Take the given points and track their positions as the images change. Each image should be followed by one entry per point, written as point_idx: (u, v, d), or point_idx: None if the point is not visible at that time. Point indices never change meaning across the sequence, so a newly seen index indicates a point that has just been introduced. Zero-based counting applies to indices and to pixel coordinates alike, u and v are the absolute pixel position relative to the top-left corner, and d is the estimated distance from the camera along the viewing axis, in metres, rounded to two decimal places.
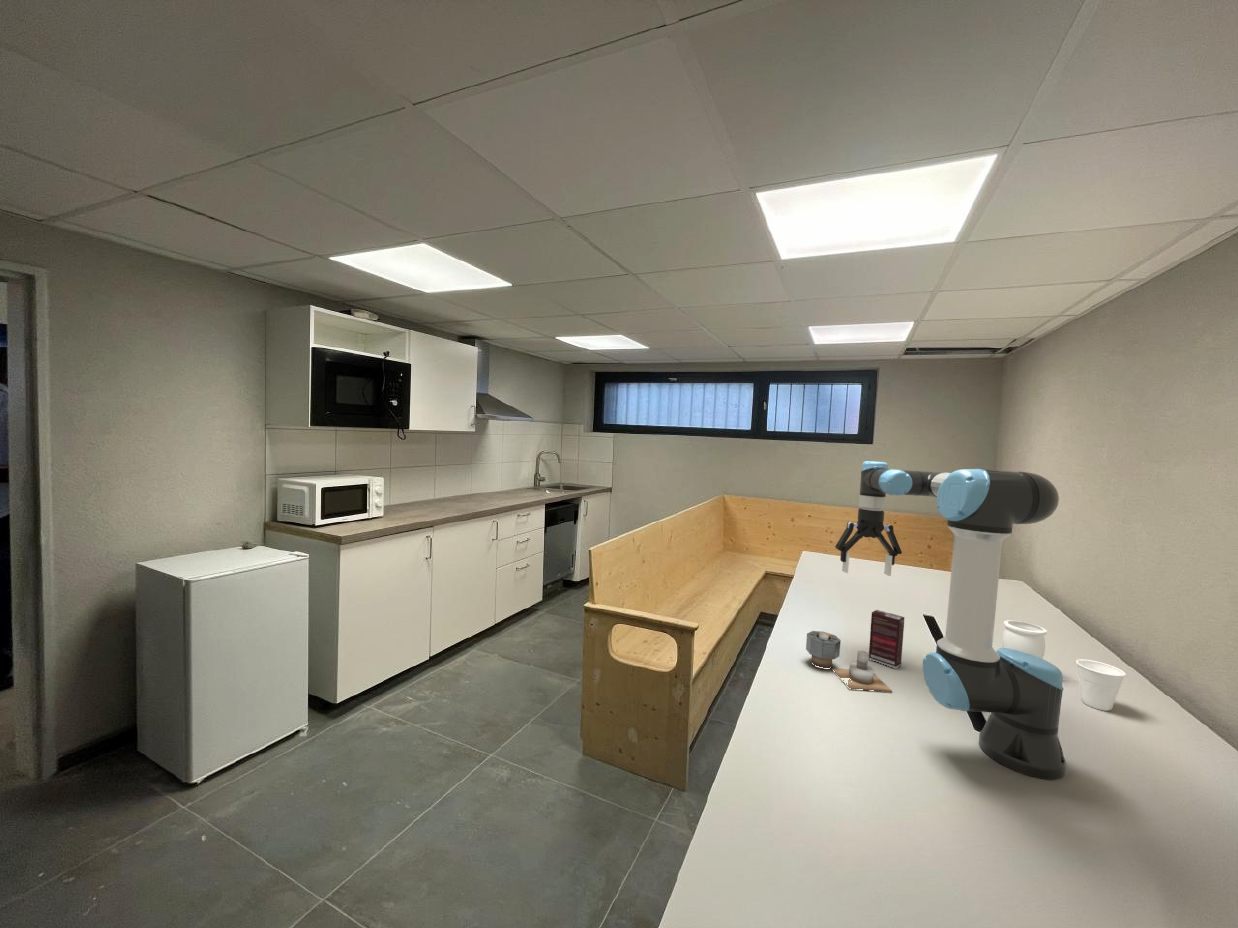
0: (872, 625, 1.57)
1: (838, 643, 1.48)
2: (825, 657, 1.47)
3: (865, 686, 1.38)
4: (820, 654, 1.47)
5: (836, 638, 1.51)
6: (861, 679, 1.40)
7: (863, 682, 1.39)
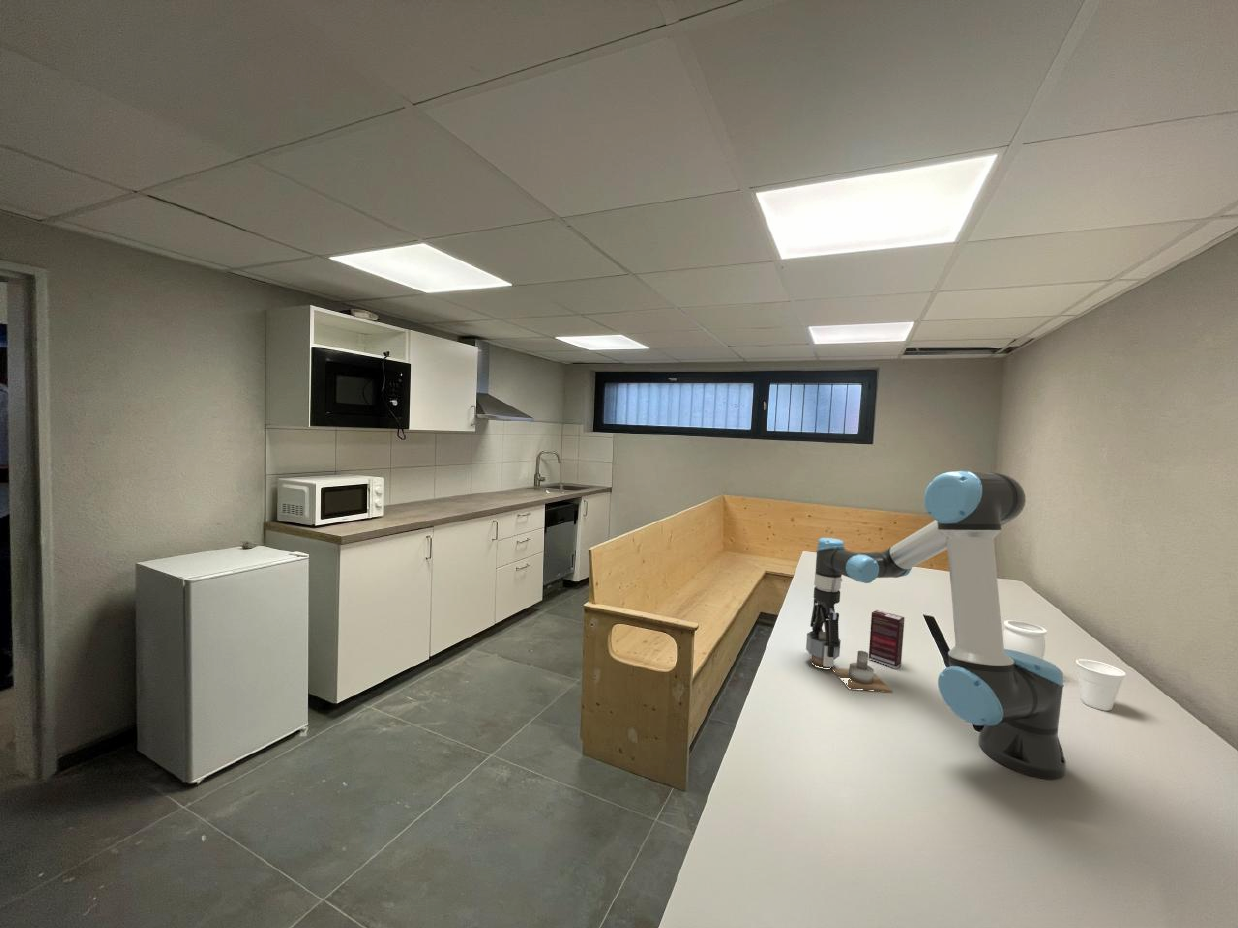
0: (872, 625, 1.57)
1: None
2: None
3: (865, 686, 1.38)
4: (820, 654, 1.47)
5: None
6: (861, 679, 1.40)
7: (863, 682, 1.39)
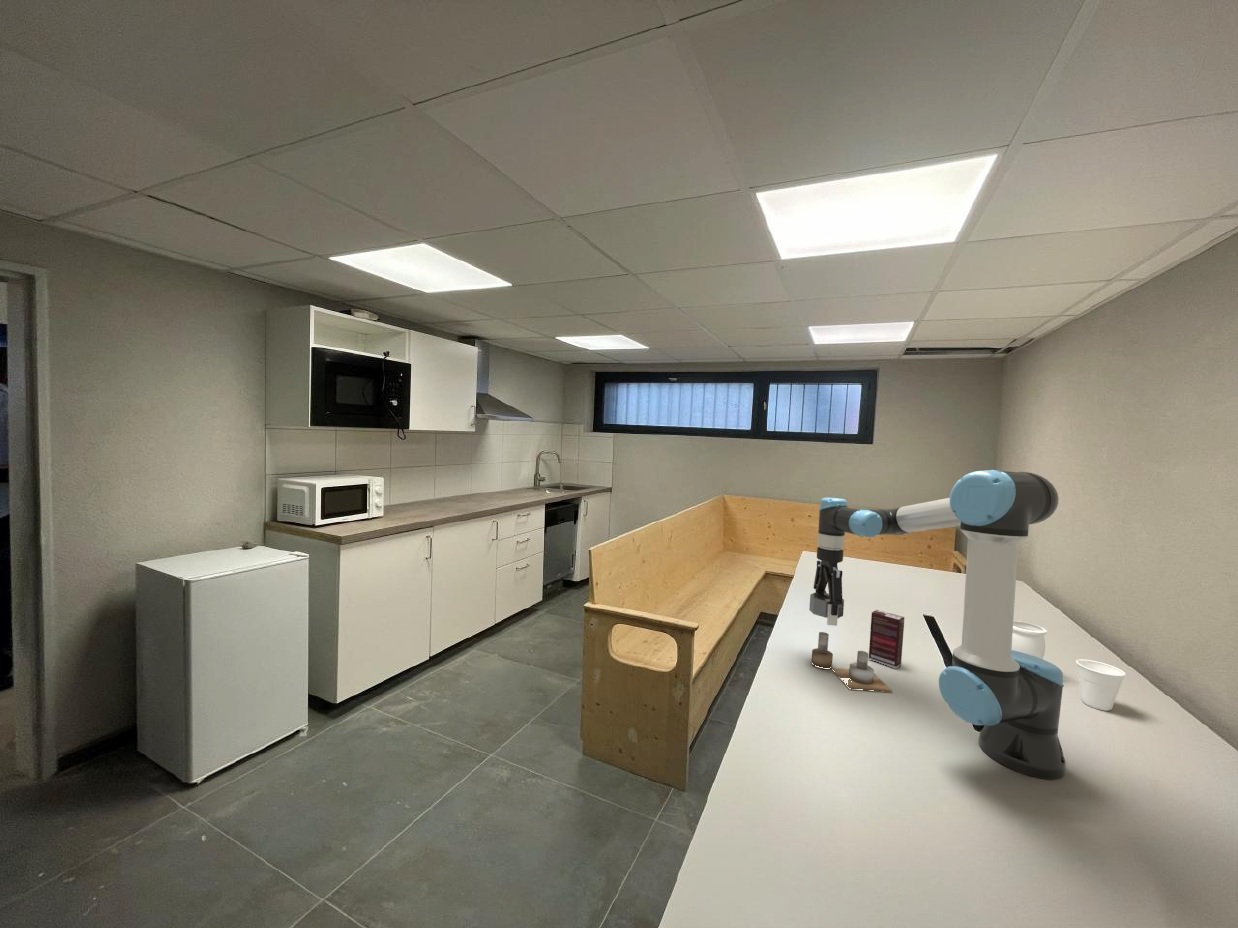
0: (872, 625, 1.57)
1: None
2: None
3: (865, 686, 1.38)
4: (824, 613, 1.47)
5: None
6: (861, 679, 1.40)
7: (863, 682, 1.39)
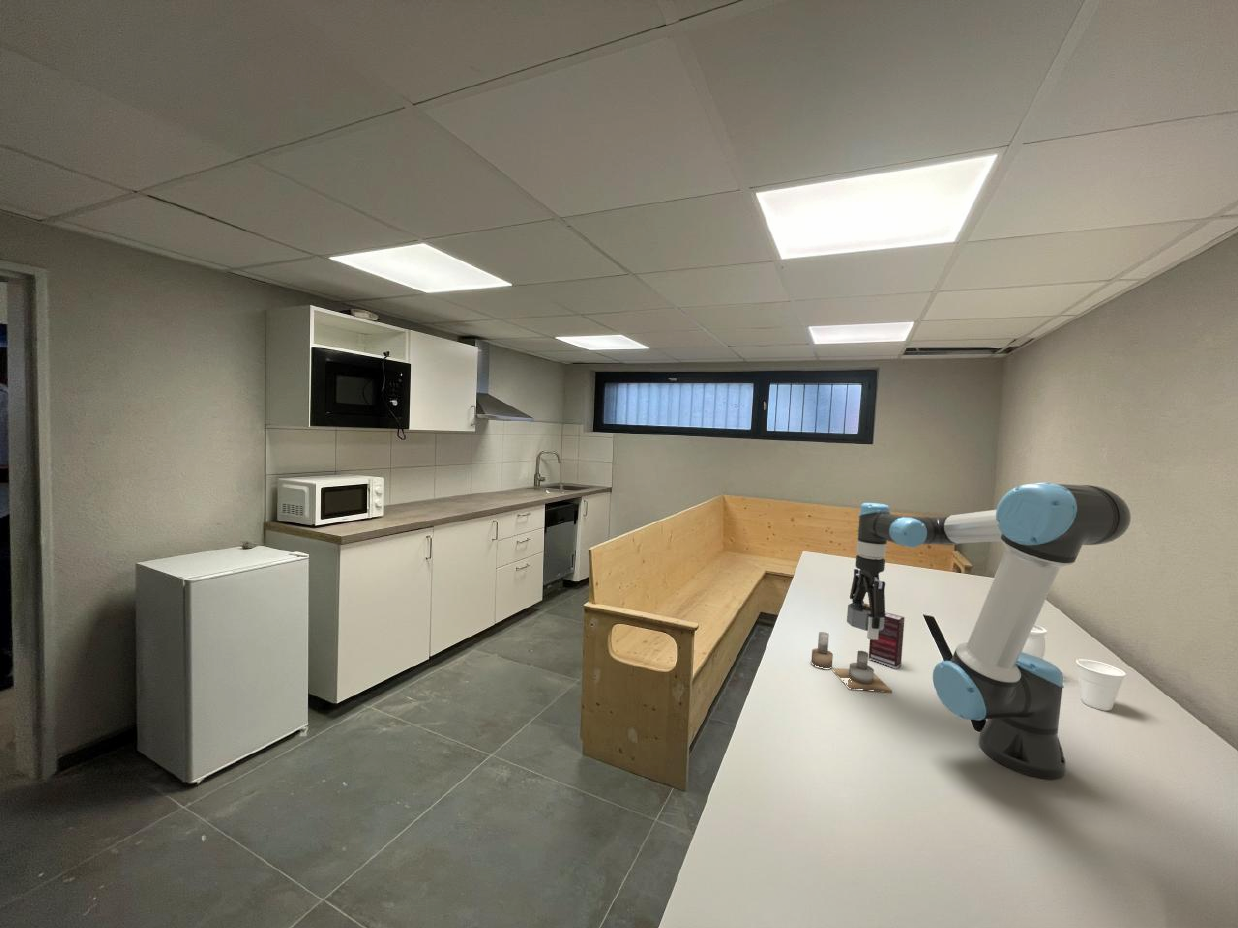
0: None
1: None
2: None
3: (865, 686, 1.38)
4: (864, 626, 1.38)
5: None
6: (861, 679, 1.40)
7: (863, 682, 1.39)
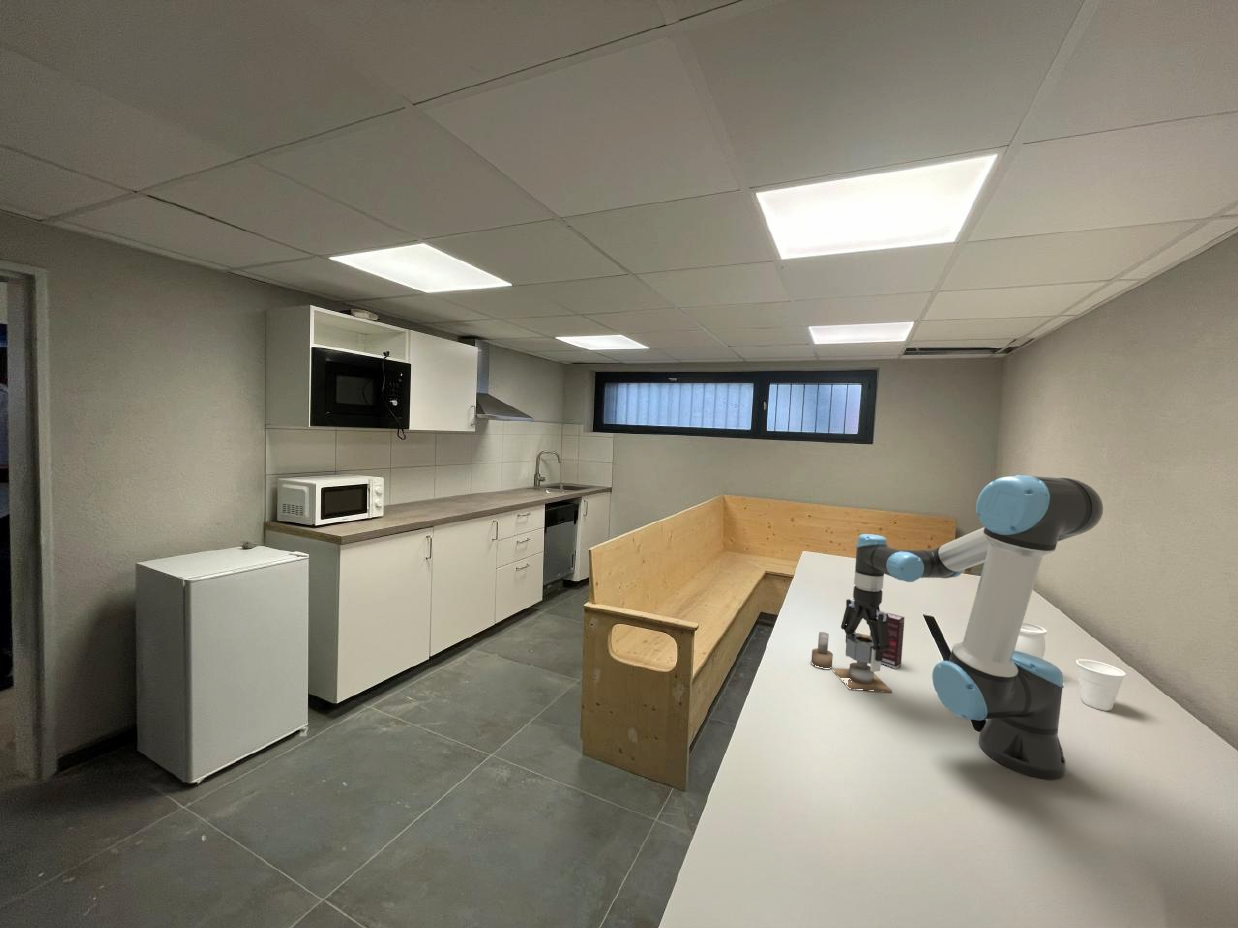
0: None
1: None
2: None
3: (865, 686, 1.38)
4: (867, 659, 1.37)
5: None
6: (861, 679, 1.40)
7: (863, 682, 1.39)
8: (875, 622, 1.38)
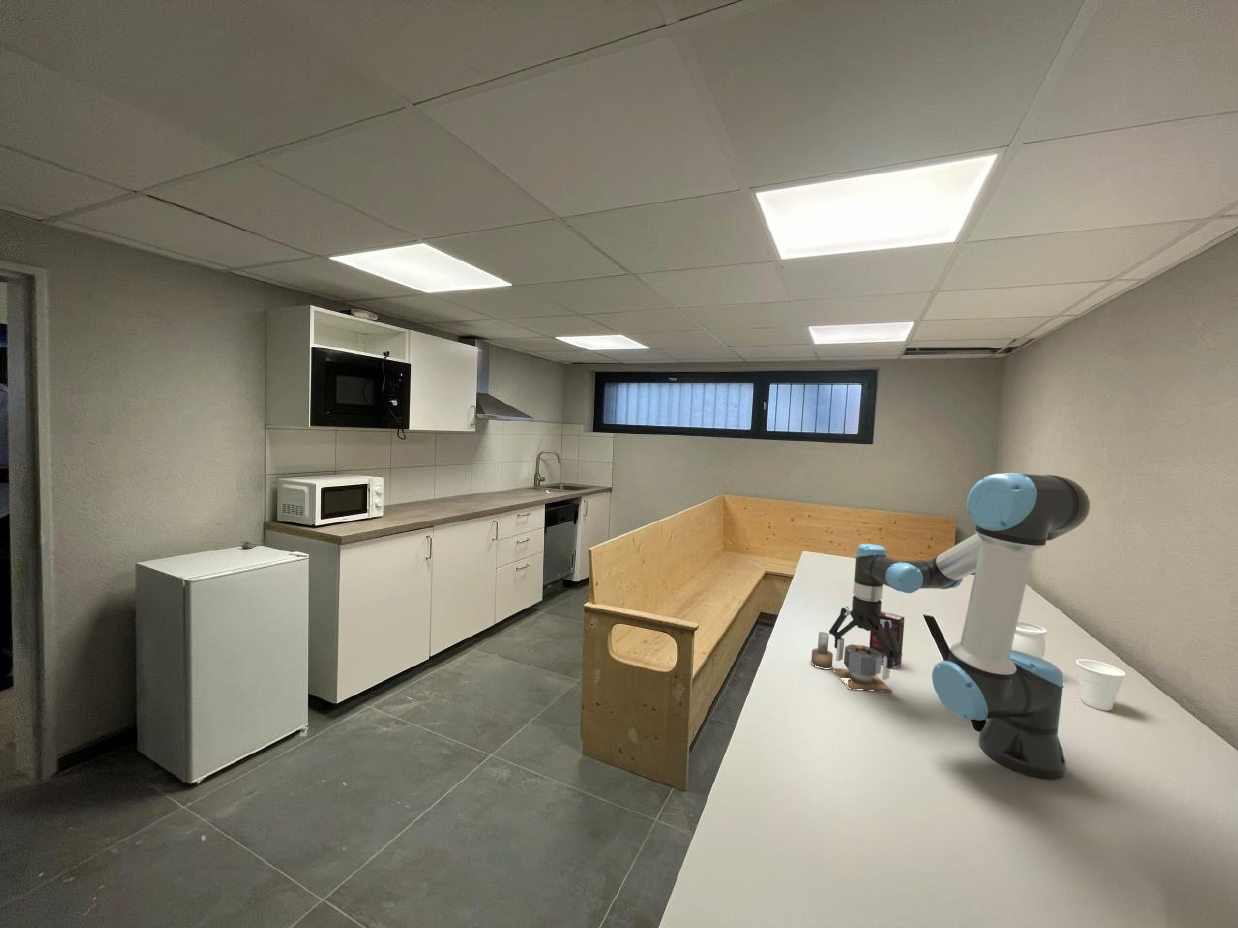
0: None
1: None
2: (876, 673, 1.38)
3: (865, 686, 1.38)
4: (873, 671, 1.38)
5: (871, 649, 1.44)
6: (861, 679, 1.40)
7: (863, 682, 1.39)
8: (879, 630, 1.39)
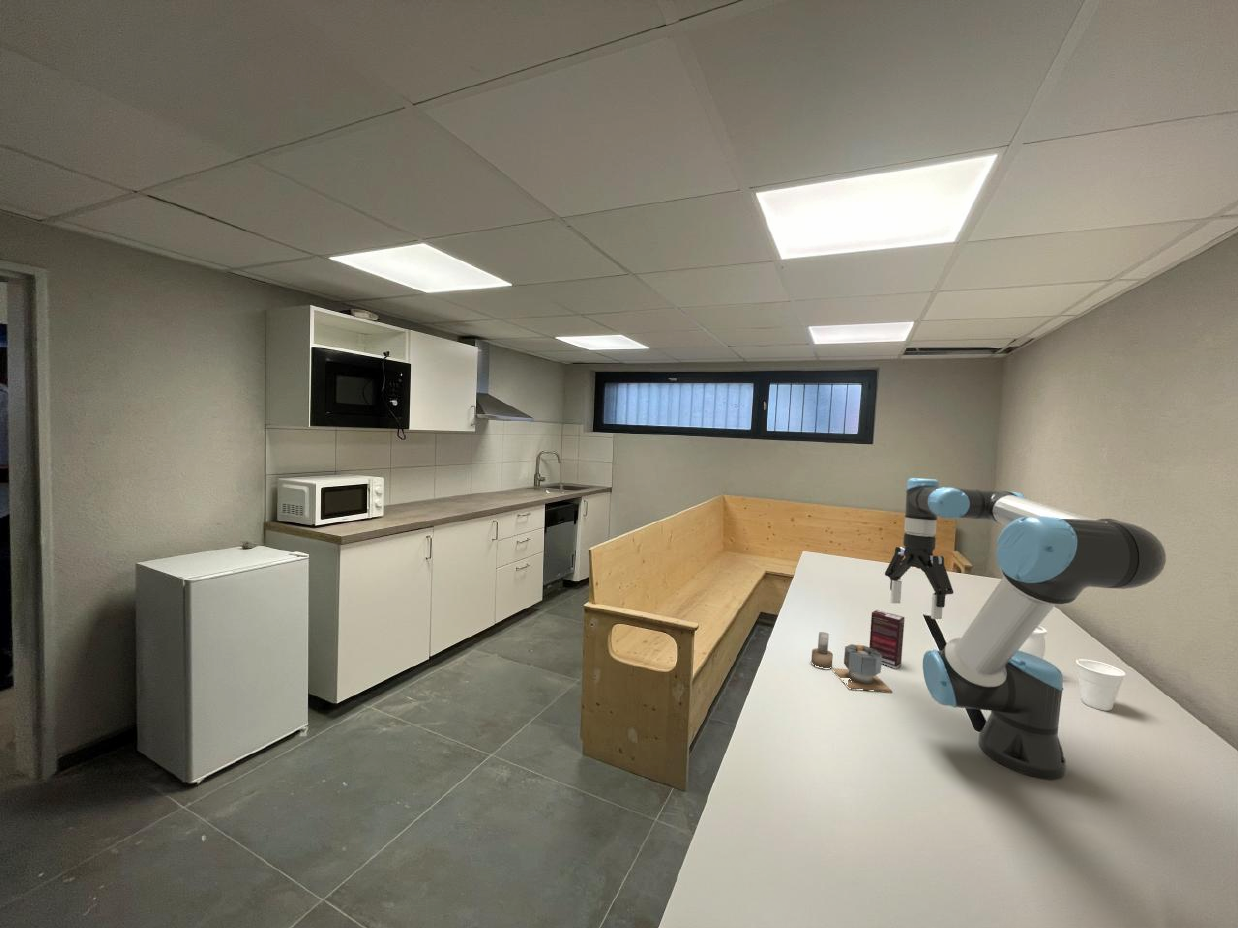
0: (872, 625, 1.57)
1: None
2: (876, 673, 1.38)
3: (865, 686, 1.38)
4: (873, 671, 1.38)
5: (871, 649, 1.44)
6: (861, 679, 1.40)
7: (863, 682, 1.39)
8: (930, 568, 1.30)
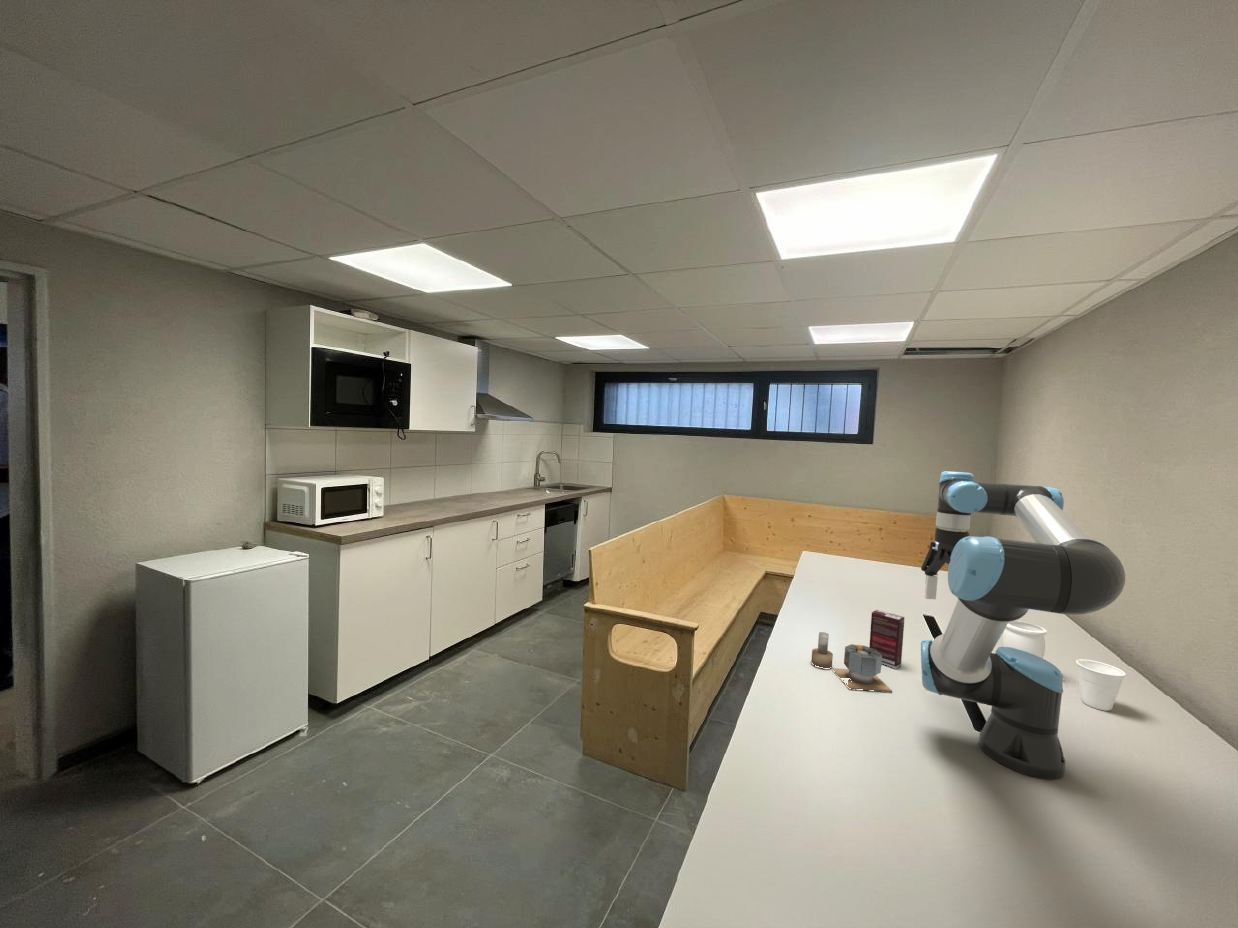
0: (872, 625, 1.57)
1: None
2: (876, 673, 1.38)
3: (865, 686, 1.38)
4: (873, 671, 1.38)
5: (871, 649, 1.44)
6: (861, 679, 1.40)
7: (863, 682, 1.39)
8: None
